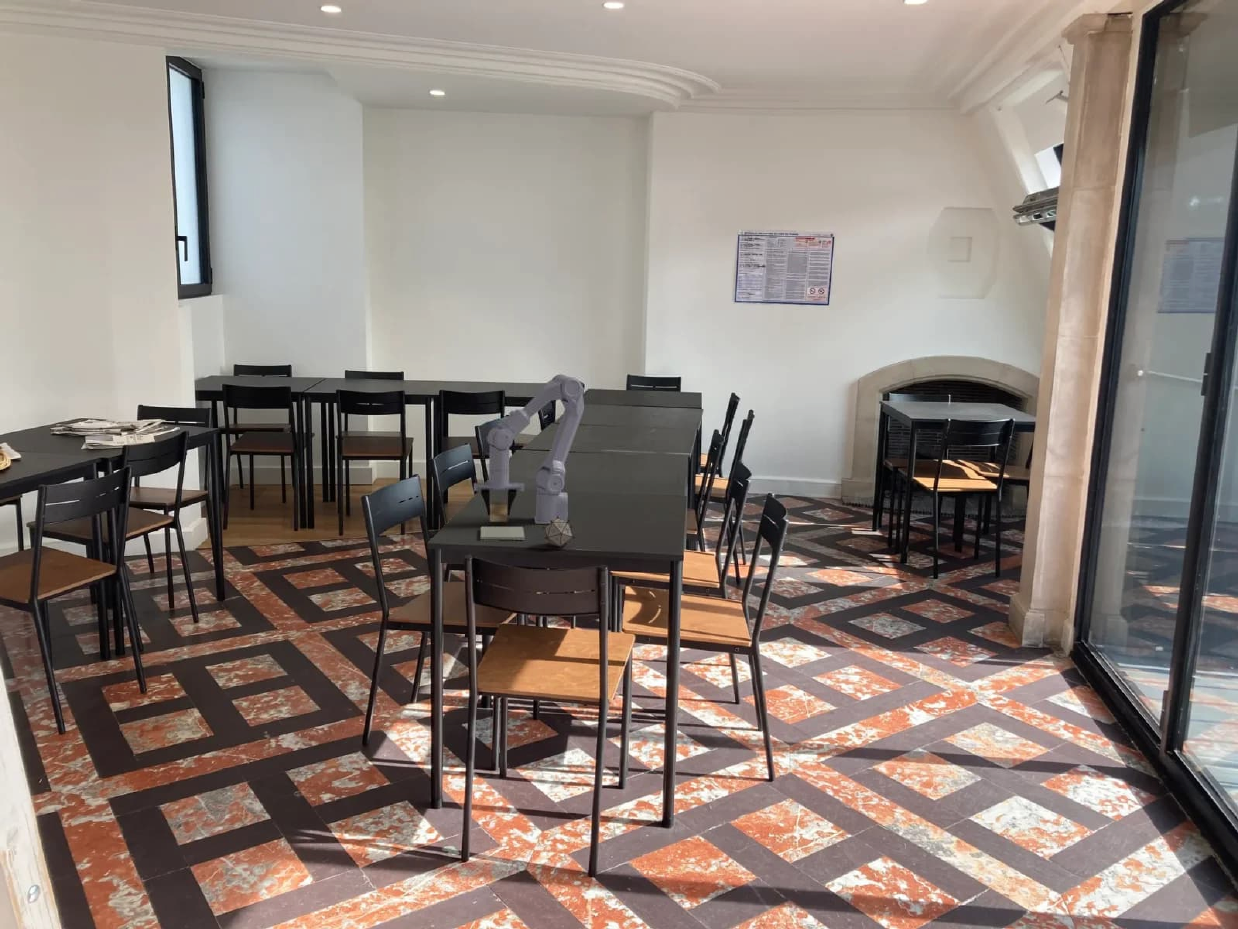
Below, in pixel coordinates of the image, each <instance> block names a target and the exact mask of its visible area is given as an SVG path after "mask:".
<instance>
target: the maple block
mask: <svg viewBox="0 0 1238 929" xmlns="http://www.w3.org/2000/svg"><path fill="white" fill-rule="evenodd" d="M507 505H508V500H490V515H489V522H490V523H491V522H497V523H498V522H499V523H500V522H503V523H504V522H506V523H507V522H508V515H507Z"/></svg>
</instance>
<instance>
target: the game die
mask: <svg viewBox="0 0 1238 929" xmlns="http://www.w3.org/2000/svg"><path fill="white" fill-rule="evenodd" d="M550 522H551V523H550V524H547V526H542V530H543V529H544V531H545V537H544V539H545V540H546V539H547V540H548V543H547V546H551V545H554V546H556V547H558V548H559V550H562V546H564V545H566V544H567V545H568V542H569V541H570V540H571V539H576V536H574V535H573V532H572V529H573V526H572V525H570V522H571V520H570V519H567V521H564V520H561V519H558V516H557V519H556V520H554V521H552V520H551V521H550Z"/></svg>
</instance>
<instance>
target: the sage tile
mask: <svg viewBox="0 0 1238 929" xmlns="http://www.w3.org/2000/svg"><path fill="white" fill-rule="evenodd" d="M481 539H514V540H515V539H517V540H520V539H521V540H524V541H525V532H524V527H523V526H481V527H480V540H481Z"/></svg>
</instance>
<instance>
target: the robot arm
mask: <svg viewBox="0 0 1238 929" xmlns="http://www.w3.org/2000/svg"><path fill="white" fill-rule="evenodd" d="M584 390H585V388H584V386H583V385H582V383H581V382H580V380H579V379H577V378H576V377H572V376H571V377H570V376H567V375H564V374H556V375H555V376H553V378H552V379H551V380H549V381H547V382H546V383H545V385H544V386H543V387H542V389H541V390H540V391H538V393H537V394H536V395H535V396H534V397H533V398H532V399H531V400H530V401H529V402H528V403H527V404H526V405H525V406H524V407H523V408H521V409H515V410H511V411H509V413H508V414H509V416H508V417H507V418H505V419H504V420H503V421H502V422H499V423H498V424H497V426H496V427H493V428H492V429H490V430H489V432H488V435H487V436H486V442H487V443H488V444H489V455H488V457H489V458H488V460H489V463H488V464H489V465H488V467H489V468H488V469H489V470H488V472H489V473H488V476H489V477H488V478H489V479H488V481H487V482H474V483H473V492H478V491H480V494H481V497H482V498H483V501H484V504H485V507H486V512H487V516H490V501H491V500H490V494H491V492H490V491H495V492H496V491H497V492H498V491H505V492H506V491H507V516H510V515H511V514H510V513H511V509H512V505H513V503H514V500H515V499H516V496H517V491H518V492H519V491H520V492H525V483H522V482H520V483H519V482H510V447H512V445H513V442H514V439H515V438H516V437H517V436H518V435H520V433H521V432H523V431H524V430H525V429H526V428H527V427H528V426H529V425H530V424H531V423H530V422H531V418H532V417H533V416H534V415H536V414H537V413H538V412H540V410H542V408H544V407H545V406H547V404H548V403H549V402H551V401H560V402H561V404H562V405H563V407H564V411H563V414H562V417H561V420H560V422H559V424H558V428H557V430H556V433H555V437H553V442H552V445H551V448H550V449H549V452H548V456H547V458H546V459H544V460H543V461H542V463H541V465H540V467H539V468H538V469H537V470H536V471H535V473H534V476H533V482H534V483H535V484H534V485H536V487H537V489H536V508H535V510H536V512H535V514H536V515H534V518H533V519H534V524H538V525H539V524H542V525H545V524H546V525H549V524H550V523H551V522H550V521H551V520H552V521H554V520H556V519H557V516H558V519H561V520H564V521H568V518H569V517H568V516H569V511H568V510H569V509H568V508H569V506H568V505H569V504H568V502H569V499H568V498H569V496H568V492H563V491H562V490H563V489H564V486H565V476H566V473H567V472H566V467H565V463H566V460H567V457H568V456H569V452H570V449H571V446H572V444H573V441H574V439H575V435H576V433H577V430H578V428H579V425H580V422H581V419H582V416H583V414H584V410H585V403H584V402H585V401H584V394H583V393H584Z"/></svg>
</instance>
